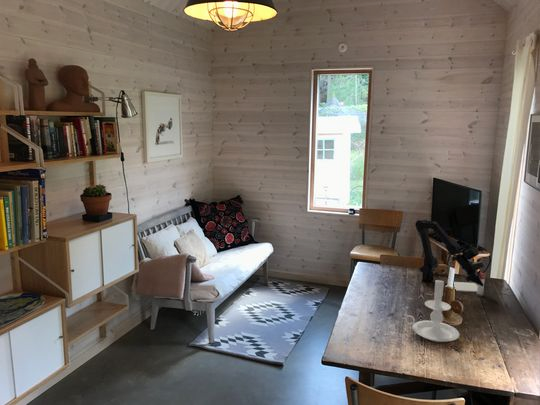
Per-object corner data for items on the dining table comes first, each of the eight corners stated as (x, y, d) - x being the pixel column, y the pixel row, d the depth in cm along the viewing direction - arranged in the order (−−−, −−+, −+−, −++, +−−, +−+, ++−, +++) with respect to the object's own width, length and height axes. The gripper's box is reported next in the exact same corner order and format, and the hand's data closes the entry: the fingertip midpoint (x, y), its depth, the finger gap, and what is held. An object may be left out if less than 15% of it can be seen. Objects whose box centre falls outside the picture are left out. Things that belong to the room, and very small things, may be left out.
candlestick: (404, 322, 218) (408, 268, 213) (457, 330, 210) (463, 275, 205) (401, 340, 199) (405, 282, 194) (459, 351, 191) (465, 290, 186)
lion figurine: (427, 273, 291) (428, 260, 289) (427, 270, 296) (428, 258, 294) (451, 276, 286) (452, 263, 284) (451, 273, 291) (452, 260, 289)
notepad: (453, 291, 260) (453, 290, 260) (447, 282, 275) (447, 281, 275) (483, 292, 258) (483, 291, 258) (475, 283, 272) (475, 282, 272)
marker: (477, 296, 253) (479, 274, 251) (475, 293, 256) (477, 272, 254) (484, 296, 252) (486, 275, 250) (482, 294, 256) (484, 273, 254)
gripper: (473, 259, 245) (493, 282, 241) (478, 251, 260) (497, 272, 256) (457, 270, 250) (476, 292, 246) (463, 261, 266) (481, 282, 262)
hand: (483, 284), depth 252 cm, fingers closed on marker, 3 cm apart
